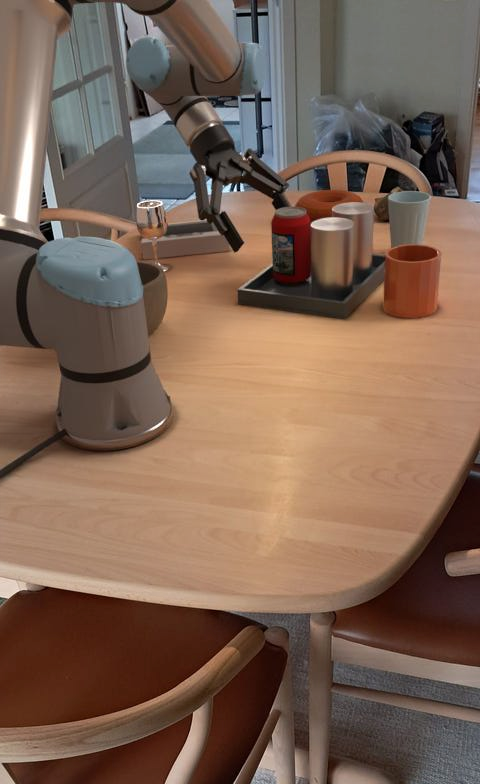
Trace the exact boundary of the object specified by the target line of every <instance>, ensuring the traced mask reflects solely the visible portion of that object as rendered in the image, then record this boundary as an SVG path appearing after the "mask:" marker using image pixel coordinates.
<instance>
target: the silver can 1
mask: <svg viewBox="0 0 480 784" xmlns="http://www.w3.org/2000/svg"><path fill="white" fill-rule="evenodd" d="M353 260H354V222H353V221H352V220H350V219H346V218H338V217H331V218H323V219H319V220H316V221H314V222H312V223H311V296H312V298H320V299H328V300H335V301H343V300H344V299H346V298H347V297H348V296H349V295H350V294H351V293H352V292H353Z"/></svg>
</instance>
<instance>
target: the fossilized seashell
mask: <svg viewBox="0 0 480 784" xmlns="http://www.w3.org/2000/svg"><path fill="white" fill-rule="evenodd" d="M404 191H405V190H403V188H401V187H399V186H396V187H395V188H393V189H392V190H391V191H390V192H389V193H387V194H386V195H384V196H382V197H381V196H380V197H376V198H374V204H373V207H374V214H375V215H376V216H377V217H378V218H379V219H380V220H384V221H387V220H388V221H389V207H388V196H389V195H391V194H393V193H397V192H404Z"/></svg>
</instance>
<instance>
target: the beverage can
mask: <svg viewBox="0 0 480 784" xmlns="http://www.w3.org/2000/svg"><path fill="white" fill-rule="evenodd" d="M270 228H271V251H272V252H271V254H272V255H271V258H272V259H271V260H272V263H273V277H274V279H275V280H277V281H279V282H280V283H282V284H285V285H296V284H301V283H303V282H305V281H306V280H307V279H308V278H310V276H311V226H310V218H309V216H308V214H307V213H306V209H304V208H302V207H295V206H292V207H284V208H280V209H277V210H274V214H273V216H272V218H271V221H270Z"/></svg>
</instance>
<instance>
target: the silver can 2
mask: <svg viewBox="0 0 480 784" xmlns="http://www.w3.org/2000/svg"><path fill="white" fill-rule="evenodd" d="M374 214H375V212H374V205H372V204H371V203H368V202H364V203H362V202H349V203H342V204H338V205H336V206H334V207H333V208H332V217H338V218H346V219H350V220H352V221H353V222H354V260H353V284H361V283H362V282H363V281H364V280H365V279H367V278H368V277H369V276H370V275H371V274H372V254H373V247H374V218H375V217H374Z"/></svg>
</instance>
